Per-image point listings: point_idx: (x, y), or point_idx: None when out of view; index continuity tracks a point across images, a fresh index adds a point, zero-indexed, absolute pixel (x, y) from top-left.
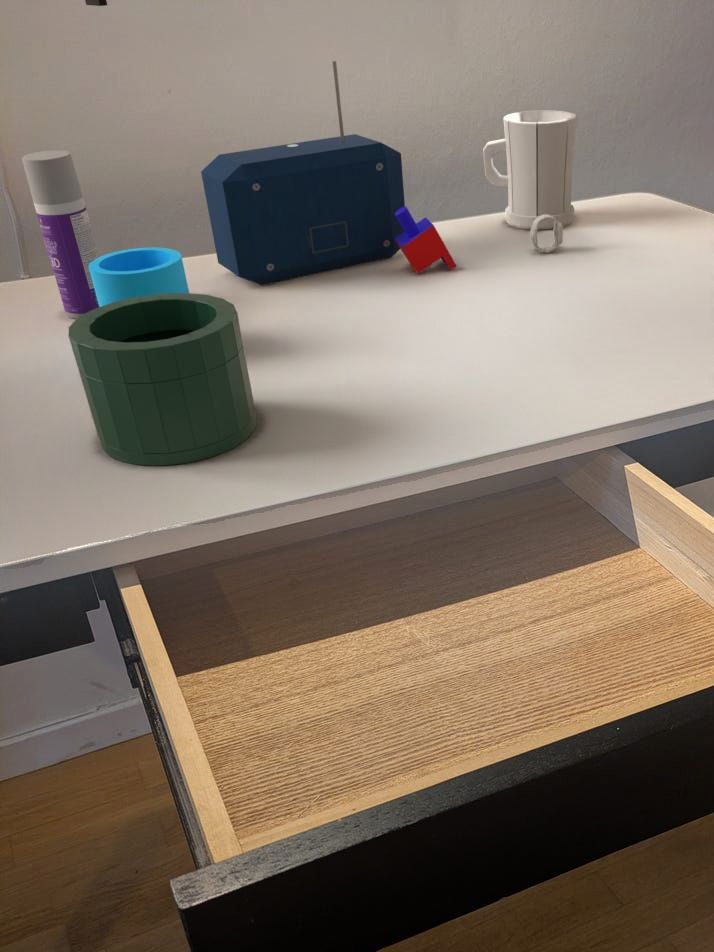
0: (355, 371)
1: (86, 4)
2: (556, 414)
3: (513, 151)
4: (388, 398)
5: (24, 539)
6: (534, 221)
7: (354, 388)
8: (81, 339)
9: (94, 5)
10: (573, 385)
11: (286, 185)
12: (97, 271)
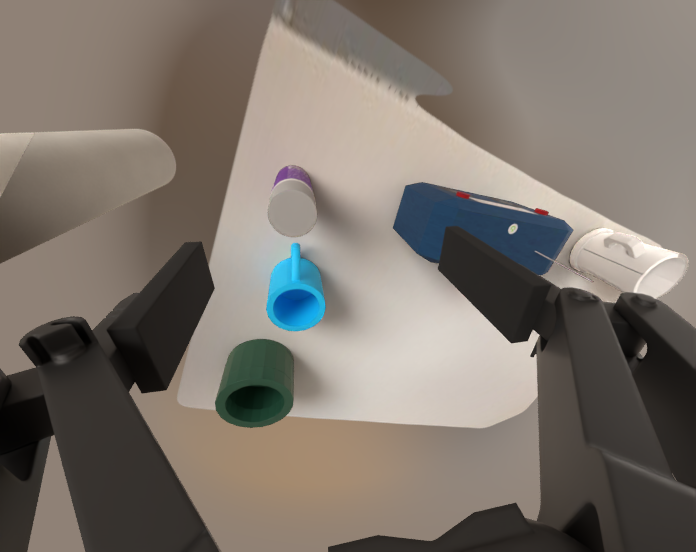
0: (348, 356)
1: (446, 227)
2: (368, 412)
3: (619, 268)
4: (339, 380)
5: (181, 398)
6: None
7: (336, 368)
8: (218, 408)
9: (441, 252)
10: (390, 402)
11: None
12: (268, 313)
